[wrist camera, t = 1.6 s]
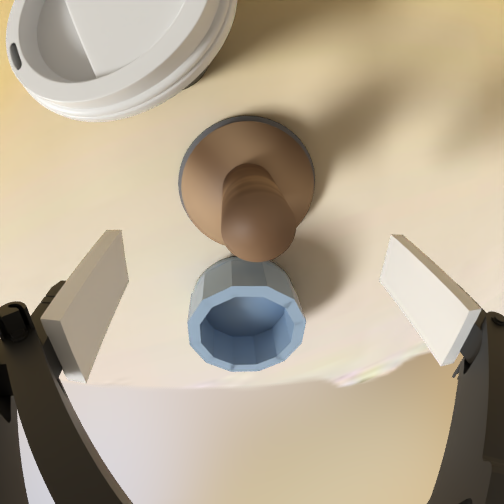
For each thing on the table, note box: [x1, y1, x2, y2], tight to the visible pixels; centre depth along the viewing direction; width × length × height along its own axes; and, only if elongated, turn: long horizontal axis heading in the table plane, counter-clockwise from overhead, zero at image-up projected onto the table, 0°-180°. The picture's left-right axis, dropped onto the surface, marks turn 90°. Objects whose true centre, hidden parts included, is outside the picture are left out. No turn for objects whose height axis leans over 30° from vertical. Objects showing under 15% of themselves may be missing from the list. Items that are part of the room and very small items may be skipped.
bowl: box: [188, 256, 306, 372], centre depth 28 cm, size 10×10×5 cm
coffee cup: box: [6, 0, 237, 122], centre depth 13 cm, size 10×10×15 cm
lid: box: [181, 121, 314, 262], centre depth 20 cm, size 10×10×9 cm
